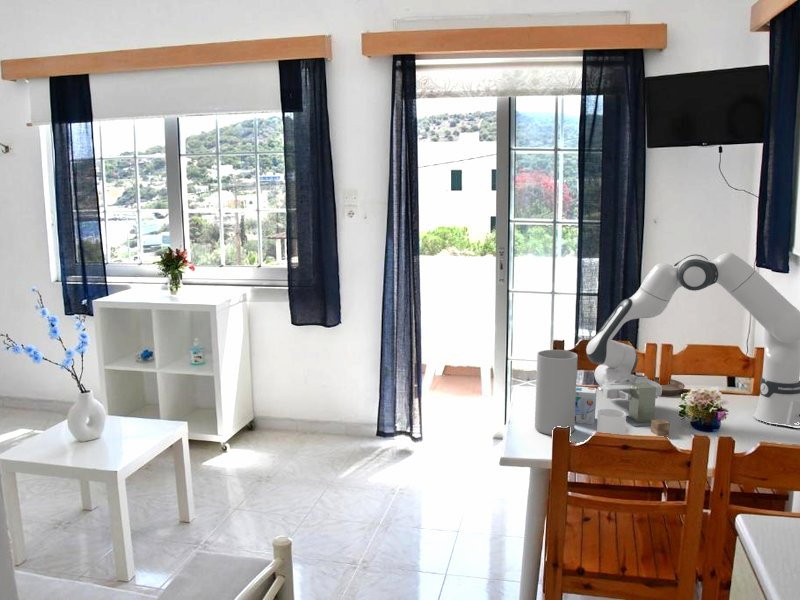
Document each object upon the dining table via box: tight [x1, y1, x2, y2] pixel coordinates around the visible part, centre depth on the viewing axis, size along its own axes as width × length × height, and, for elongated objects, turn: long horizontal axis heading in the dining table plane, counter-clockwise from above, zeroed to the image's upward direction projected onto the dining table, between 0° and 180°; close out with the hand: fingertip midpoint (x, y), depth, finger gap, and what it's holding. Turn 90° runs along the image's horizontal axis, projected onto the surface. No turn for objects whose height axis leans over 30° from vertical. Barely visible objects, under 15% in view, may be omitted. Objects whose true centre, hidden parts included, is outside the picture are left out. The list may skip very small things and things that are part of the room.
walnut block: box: [650, 418, 670, 436], centre depth 236 cm, size 4×4×4 cm
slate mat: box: [626, 415, 656, 428], centre depth 248 cm, size 10×10×1 cm
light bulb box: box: [575, 385, 597, 425], centre depth 248 cm, size 11×7×11 cm, turn 73°
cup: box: [596, 408, 627, 436], centre depth 227 cm, size 8×12×10 cm
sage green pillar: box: [627, 382, 657, 423], centre depth 247 cm, size 6×6×12 cm
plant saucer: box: [654, 376, 686, 396], centre depth 284 cm, size 18×18×3 cm
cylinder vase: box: [534, 349, 578, 436], centre depth 237 cm, size 12×12×25 cm
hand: (642, 396), depth 246 cm, fingers open, 8 cm apart
